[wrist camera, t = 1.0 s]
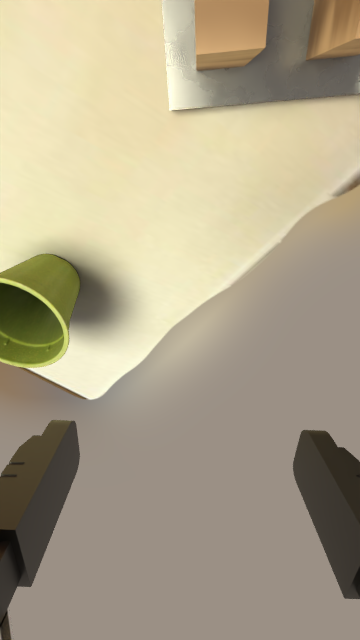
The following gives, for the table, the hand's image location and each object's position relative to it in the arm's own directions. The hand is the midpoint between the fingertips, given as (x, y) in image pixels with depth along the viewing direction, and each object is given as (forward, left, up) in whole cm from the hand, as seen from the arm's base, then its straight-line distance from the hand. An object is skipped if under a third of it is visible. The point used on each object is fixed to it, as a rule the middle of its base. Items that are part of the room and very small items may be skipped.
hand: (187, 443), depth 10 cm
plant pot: (+7, -19, -28) cm, 35 cm away
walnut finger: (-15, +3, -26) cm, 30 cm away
